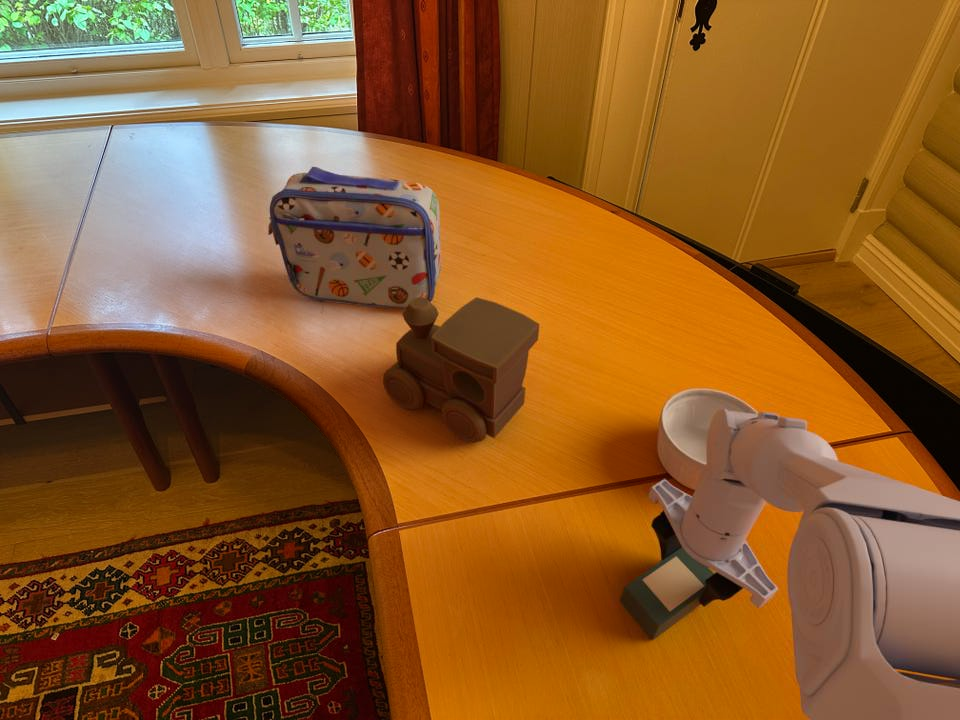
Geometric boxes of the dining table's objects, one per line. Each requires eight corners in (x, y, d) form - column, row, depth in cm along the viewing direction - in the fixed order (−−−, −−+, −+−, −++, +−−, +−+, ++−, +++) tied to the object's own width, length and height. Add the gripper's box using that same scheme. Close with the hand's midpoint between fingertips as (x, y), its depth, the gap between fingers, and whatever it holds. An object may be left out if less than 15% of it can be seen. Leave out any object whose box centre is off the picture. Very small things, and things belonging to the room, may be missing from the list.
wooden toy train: (536, 409, 86) (544, 318, 75) (491, 462, 79) (493, 371, 68) (426, 354, 94) (418, 265, 83) (376, 398, 87) (361, 308, 76)
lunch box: (278, 304, 104) (244, 185, 88) (300, 270, 111) (272, 155, 96) (436, 319, 101) (428, 199, 85) (447, 283, 108) (442, 166, 93)
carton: (678, 559, 69) (685, 543, 67) (712, 595, 66) (721, 579, 64) (619, 601, 65) (624, 585, 63) (652, 641, 62) (659, 626, 60)
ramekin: (766, 450, 81) (784, 415, 76) (736, 522, 73) (754, 488, 68) (671, 408, 86) (683, 373, 81) (633, 471, 78) (643, 436, 73)
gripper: (817, 547, 54) (767, 614, 63) (694, 440, 63) (666, 513, 72) (765, 588, 51) (721, 652, 60) (644, 470, 60) (622, 541, 69)
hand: (688, 578), depth 66 cm, fingers closed on carton, 5 cm apart
